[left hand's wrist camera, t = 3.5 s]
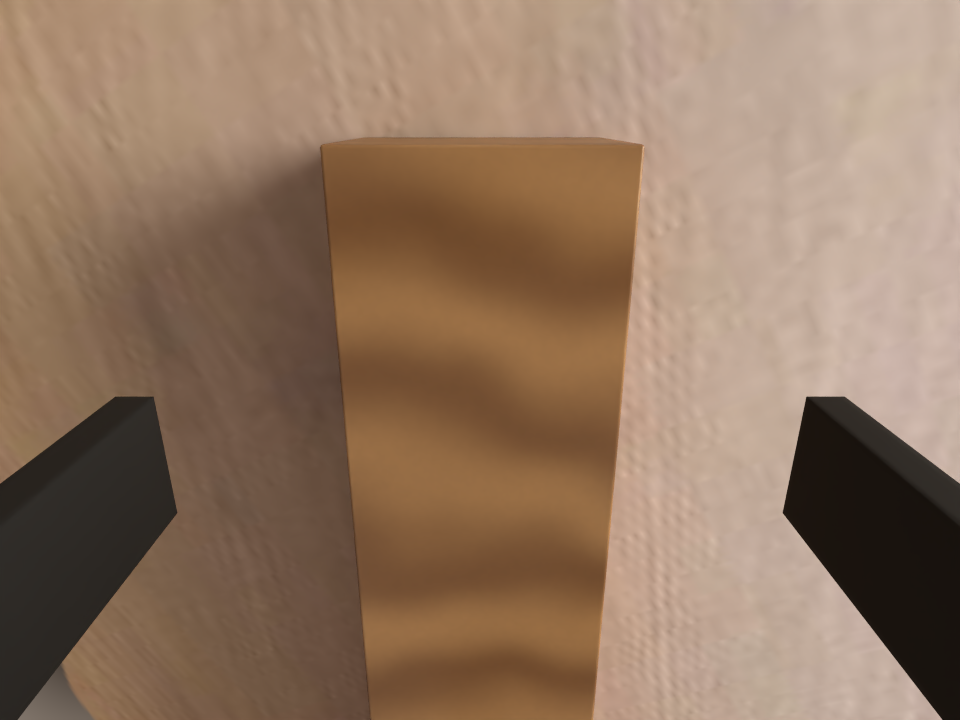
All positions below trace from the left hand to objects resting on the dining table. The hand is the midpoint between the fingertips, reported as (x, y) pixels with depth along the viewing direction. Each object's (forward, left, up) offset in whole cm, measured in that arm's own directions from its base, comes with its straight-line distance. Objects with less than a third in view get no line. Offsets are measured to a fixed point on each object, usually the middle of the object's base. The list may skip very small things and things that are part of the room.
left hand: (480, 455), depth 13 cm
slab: (+20, 0, -14) cm, 25 cm away
